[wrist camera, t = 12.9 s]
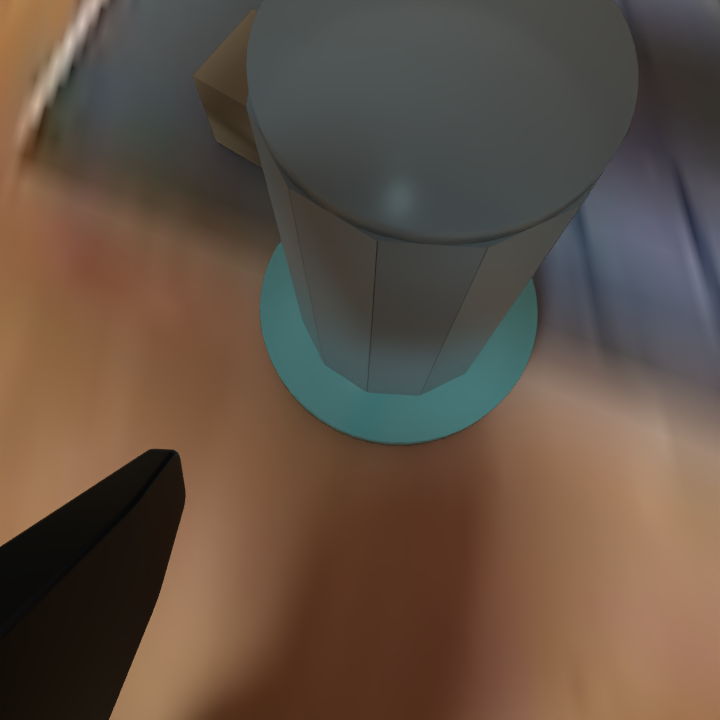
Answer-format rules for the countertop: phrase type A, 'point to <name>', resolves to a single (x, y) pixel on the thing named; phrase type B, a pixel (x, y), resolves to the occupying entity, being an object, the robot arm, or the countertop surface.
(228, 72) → the walnut block
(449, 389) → the dish
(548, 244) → the grey faceted cylinder
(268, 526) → the countertop surface
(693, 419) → the countertop surface
